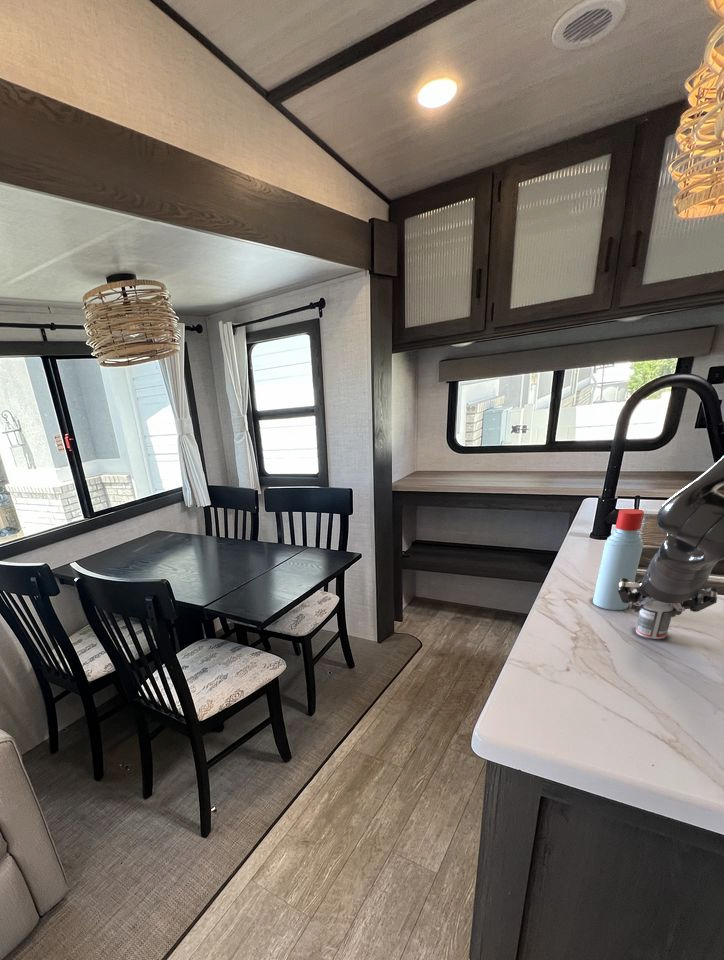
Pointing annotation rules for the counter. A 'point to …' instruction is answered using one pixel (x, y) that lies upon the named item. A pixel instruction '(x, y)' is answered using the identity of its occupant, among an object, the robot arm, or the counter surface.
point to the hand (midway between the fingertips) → (654, 609)
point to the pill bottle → (654, 619)
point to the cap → (629, 519)
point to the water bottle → (617, 567)
